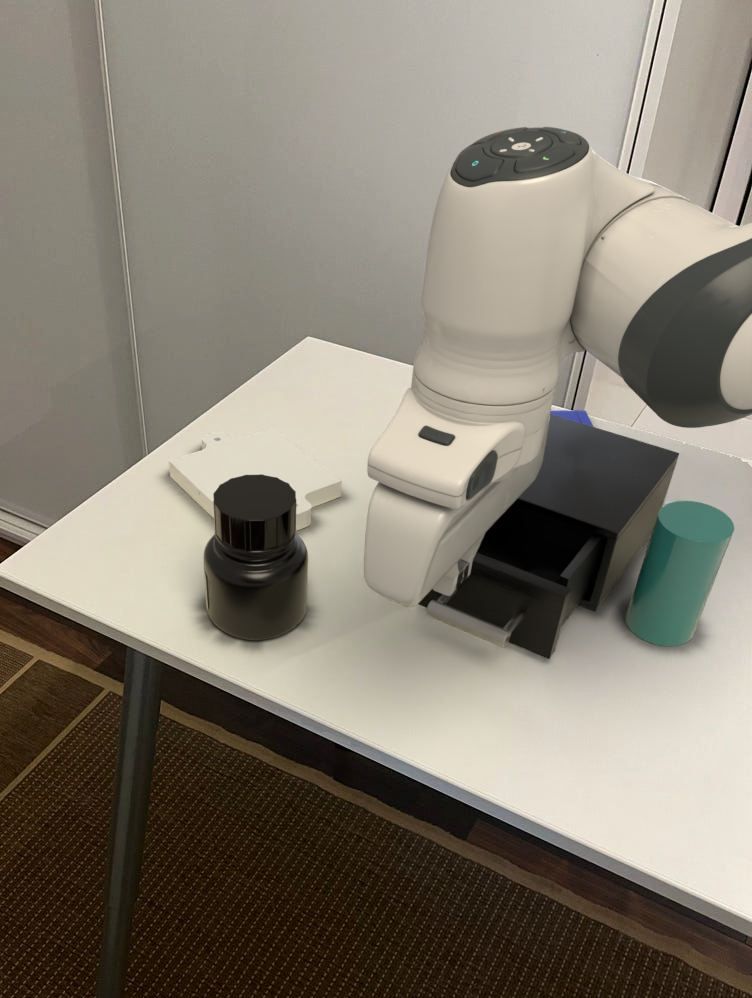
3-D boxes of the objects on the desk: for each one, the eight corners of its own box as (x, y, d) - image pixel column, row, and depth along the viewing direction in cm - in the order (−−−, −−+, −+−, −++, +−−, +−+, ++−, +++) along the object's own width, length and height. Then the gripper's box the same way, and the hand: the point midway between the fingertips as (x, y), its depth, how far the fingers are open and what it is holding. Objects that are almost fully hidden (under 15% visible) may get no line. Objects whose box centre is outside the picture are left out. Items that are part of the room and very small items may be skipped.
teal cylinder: (703, 619, 86) (743, 515, 78) (681, 655, 82) (721, 550, 75) (638, 594, 88) (672, 492, 81) (615, 629, 85) (648, 525, 77)
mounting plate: (159, 465, 105) (157, 450, 103) (260, 432, 110) (260, 417, 109) (246, 549, 93) (246, 533, 92) (355, 508, 99) (356, 492, 97)
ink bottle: (265, 565, 92) (264, 454, 84) (330, 610, 87) (335, 497, 79) (183, 609, 87) (173, 496, 79) (247, 659, 82) (243, 544, 74)
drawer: (527, 689, 78) (543, 625, 73) (393, 630, 83) (400, 567, 79) (613, 572, 89) (631, 510, 85) (490, 526, 95) (501, 466, 90)
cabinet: (595, 612, 86) (618, 533, 81) (458, 558, 92) (470, 481, 87) (655, 528, 96) (679, 452, 90) (527, 484, 102) (542, 411, 96)
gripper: (503, 343, 70) (475, 504, 79) (352, 466, 57) (339, 640, 67) (586, 367, 67) (547, 531, 76) (447, 501, 55) (420, 678, 64)
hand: (449, 583), depth 71 cm, fingers closed
